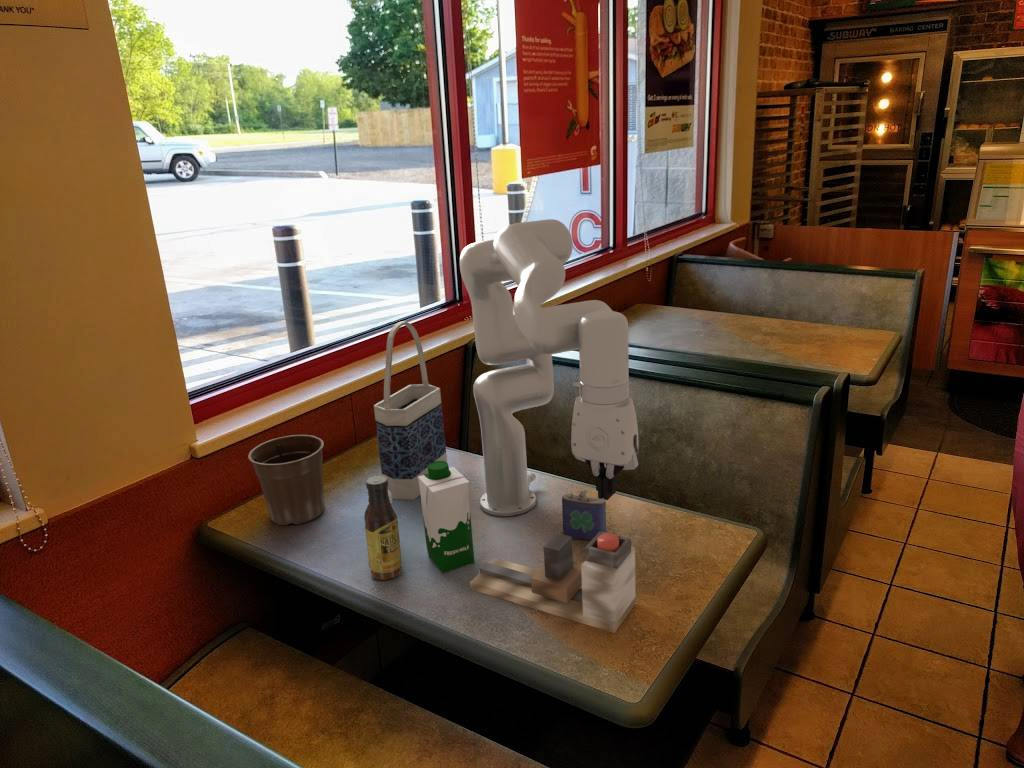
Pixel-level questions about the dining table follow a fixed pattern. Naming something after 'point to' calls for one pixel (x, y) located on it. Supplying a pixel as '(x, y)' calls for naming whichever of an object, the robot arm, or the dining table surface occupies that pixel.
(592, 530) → the flask
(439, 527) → the milk carton
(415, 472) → the bag
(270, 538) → the dining table surface
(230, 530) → the dining table surface
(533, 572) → the rail
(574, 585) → the carriage
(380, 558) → the sauce bottle
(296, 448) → the plant pot
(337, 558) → the dining table surface
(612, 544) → the red dome button
